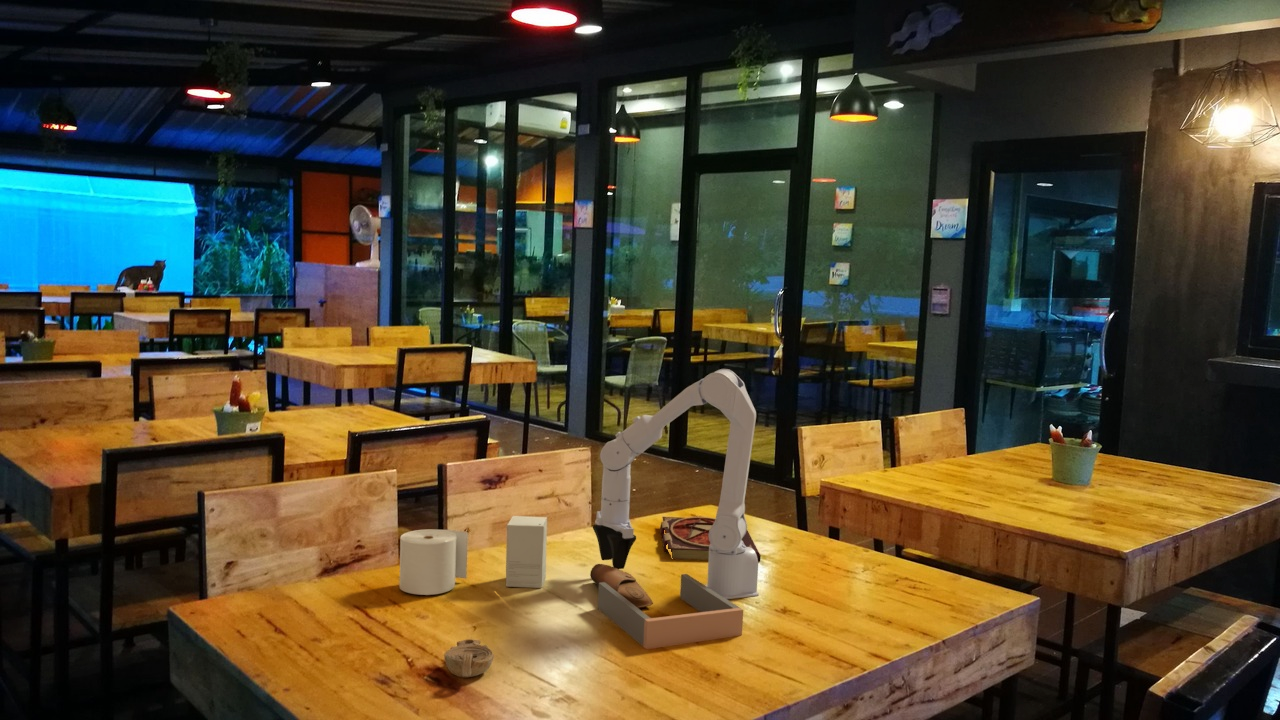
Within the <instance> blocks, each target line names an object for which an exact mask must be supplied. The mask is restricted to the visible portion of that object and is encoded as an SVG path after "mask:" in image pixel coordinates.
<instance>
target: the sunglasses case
mask: <svg viewBox="0 0 1280 720" xmlns="http://www.w3.org/2000/svg"><path fill="white" fill-rule="evenodd" d="M589 574H590V579H591V581H592V582H594V583H595V585H596V586H597V587H598V588H599V583H602V582H605V583H606V584H608V585H609V586H610V587H612V588H613V589H614V590H615V591H617V592H618V593H619V594H621V595H622V596H623V597H624V598H626V599H627V600H628V601H629V602H631V603H632V604H633V605H635V606H636V607H637V608H638V609H641V608H645V607H650V606H652V605H653V604H654V602H653V600H652V599H651V597H650V596H649V594H648V593H647V592H646V591H645V590H644V588H643V587H642V586H641V585H640V583H639V582H638V581H637V580H636V578H635V577H634V576H633V575H632V574H631V573H629V572H626V571H625V572H624V571H623V570H622V569H617V568H614V567H613V566H611V565H608V564H604V563H597V564H594V566H592V568H591V570H590V573H589Z"/></svg>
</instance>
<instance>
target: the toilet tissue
mask: <svg viewBox="0 0 1280 720" xmlns="http://www.w3.org/2000/svg"><path fill="white" fill-rule="evenodd" d="M468 537H469V532H468V531H462V530H456V529H455V530H452V529H435V528H434V529H433V528H432V529H418V530H417V529H416V530H411V531H407V532H404V533H403V534H401V535H400V537H399V539H400V543H399V544H400V546H399V548H400V549H399V554H400V555H399V577H398V578H399V579H398V580H399V583H398V584H399V585H398V586H399V590H401V591H403V592H404V593H408V594H412V595H421V596H422V595H425V596H431V595H439V594H443V593H447V592H449V591H451V590H453V589H454V588H455V586H456V578H458V579H459V578H460V579H465V580H467V578H468V577H467V575H468V570H467V568H468V551H469V550H468V541H469V539H468Z"/></svg>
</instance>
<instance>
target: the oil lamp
mask: <svg viewBox="0 0 1280 720" xmlns="http://www.w3.org/2000/svg"><path fill="white" fill-rule="evenodd" d="M481 643H482V642H481V640H480V639H479V640H477V639H471V638H469V639H463V640H461V641H457V642H456V646H450V649H448V650H446V651H445V652H444V654H443V657H444V658H443V659H444V662H445V665H446V668H447V669H448V671H449V672H450V673H451V674H452V675H454V676H457V677H459V678H473V677H476V676H477V677H478V676H479V675H482V674H484V673H486V672H487V671H488V670H489V668H491V665H492V663H493V660H494V652H493V651H492V649H490V648H489V645H488V644H487V645H486V644H483V645H482V644H481Z"/></svg>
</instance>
